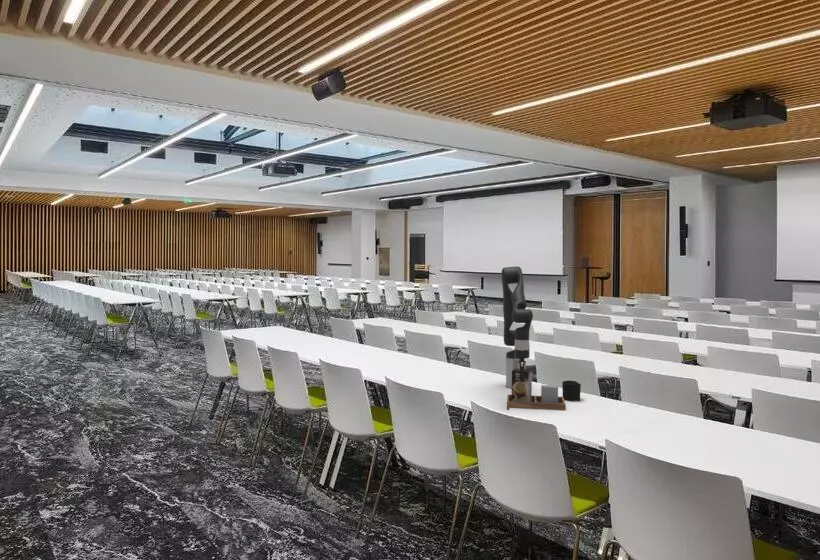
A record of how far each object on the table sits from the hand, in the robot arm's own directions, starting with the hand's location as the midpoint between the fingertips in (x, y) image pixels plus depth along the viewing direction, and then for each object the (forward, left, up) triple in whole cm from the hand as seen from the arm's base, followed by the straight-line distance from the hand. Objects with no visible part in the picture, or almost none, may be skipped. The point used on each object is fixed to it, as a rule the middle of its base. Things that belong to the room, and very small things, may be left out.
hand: (521, 380), depth 297 cm
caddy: (0, +7, -14) cm, 15 cm away
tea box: (0, +14, -13) cm, 19 cm away
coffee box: (0, 0, -11) cm, 11 cm away
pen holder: (-15, +26, -14) cm, 33 cm away
